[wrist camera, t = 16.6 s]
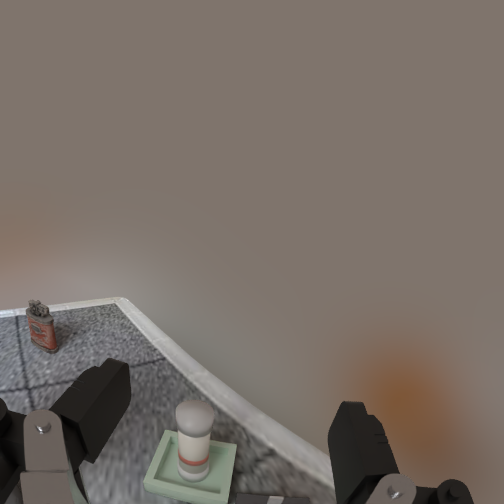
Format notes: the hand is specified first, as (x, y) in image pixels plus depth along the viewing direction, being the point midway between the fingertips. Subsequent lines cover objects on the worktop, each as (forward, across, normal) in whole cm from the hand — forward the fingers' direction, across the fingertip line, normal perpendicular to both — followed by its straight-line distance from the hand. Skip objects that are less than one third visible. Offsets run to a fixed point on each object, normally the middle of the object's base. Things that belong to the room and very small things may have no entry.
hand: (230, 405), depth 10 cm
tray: (+14, +4, +28) cm, 31 cm away
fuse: (+14, +4, +27) cm, 31 cm away
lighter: (+31, +41, +29) cm, 59 cm away
